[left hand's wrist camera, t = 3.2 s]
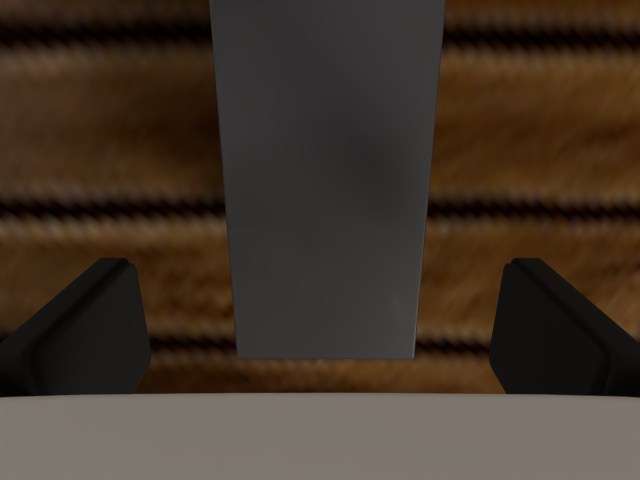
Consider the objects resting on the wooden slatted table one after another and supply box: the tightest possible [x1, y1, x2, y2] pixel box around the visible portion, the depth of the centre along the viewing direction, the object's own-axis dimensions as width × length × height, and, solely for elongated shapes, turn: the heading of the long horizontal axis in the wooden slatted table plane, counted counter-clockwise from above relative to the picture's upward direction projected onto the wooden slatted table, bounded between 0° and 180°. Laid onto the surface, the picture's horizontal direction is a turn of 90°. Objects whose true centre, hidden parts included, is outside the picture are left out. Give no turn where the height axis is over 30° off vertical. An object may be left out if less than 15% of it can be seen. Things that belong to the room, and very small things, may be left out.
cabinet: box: [209, 0, 446, 359], centre depth 16 cm, size 21×6×10 cm, turn 0°
